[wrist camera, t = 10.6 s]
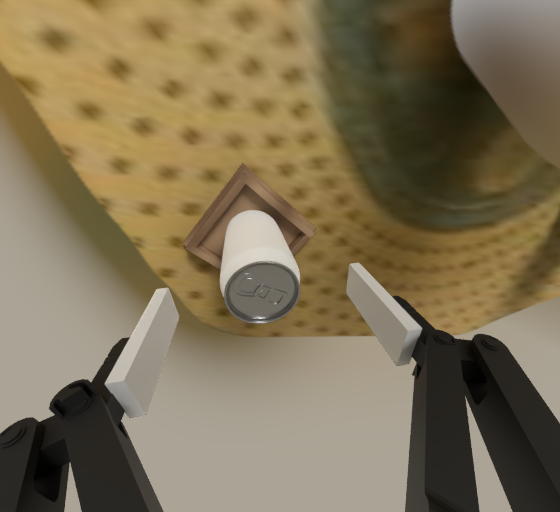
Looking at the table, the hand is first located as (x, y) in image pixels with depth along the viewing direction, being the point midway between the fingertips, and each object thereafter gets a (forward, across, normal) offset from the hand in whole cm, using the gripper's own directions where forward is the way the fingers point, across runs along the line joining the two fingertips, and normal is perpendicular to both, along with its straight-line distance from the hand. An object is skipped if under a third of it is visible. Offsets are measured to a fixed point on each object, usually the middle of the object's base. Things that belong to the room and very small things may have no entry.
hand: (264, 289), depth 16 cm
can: (+12, 0, 0) cm, 12 cm away
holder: (+13, 0, -1) cm, 13 cm away
